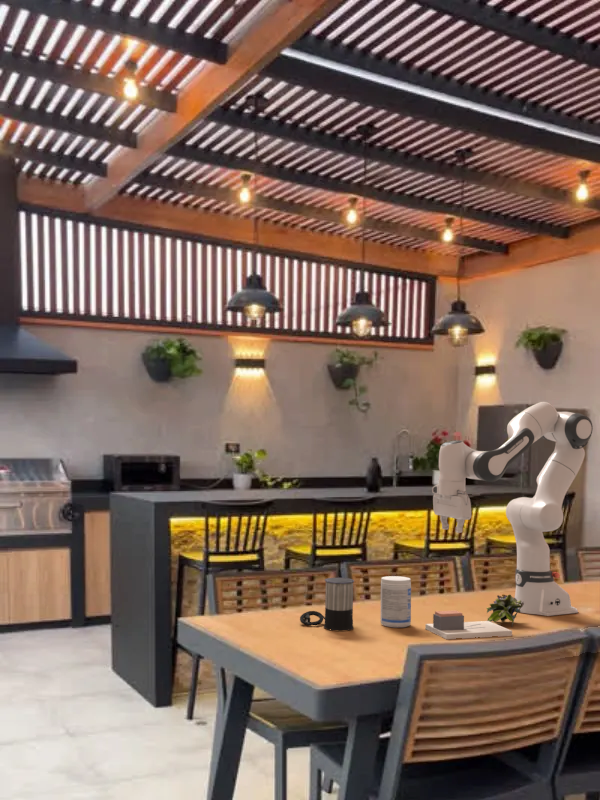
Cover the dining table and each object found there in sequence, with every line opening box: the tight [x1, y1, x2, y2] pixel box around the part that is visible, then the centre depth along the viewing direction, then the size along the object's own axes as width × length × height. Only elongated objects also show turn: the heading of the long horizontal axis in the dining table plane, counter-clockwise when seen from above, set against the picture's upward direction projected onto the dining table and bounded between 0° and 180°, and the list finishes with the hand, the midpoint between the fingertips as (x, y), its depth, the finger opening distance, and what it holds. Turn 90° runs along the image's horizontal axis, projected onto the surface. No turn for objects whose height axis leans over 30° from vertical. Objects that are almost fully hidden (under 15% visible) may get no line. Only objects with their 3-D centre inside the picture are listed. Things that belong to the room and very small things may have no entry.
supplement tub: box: [380, 575, 412, 629], centre depth 265 cm, size 10×10×15 cm
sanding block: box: [432, 610, 465, 631], centre depth 255 cm, size 8×4×5 cm, turn 107°
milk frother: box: [299, 577, 355, 631], centre depth 261 cm, size 14×16×15 cm
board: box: [424, 620, 513, 640], centre depth 257 cm, size 22×14×2 cm, turn 107°
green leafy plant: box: [486, 593, 524, 627], centre depth 270 cm, size 11×11×12 cm
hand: (452, 531), depth 279 cm, fingers open, 8 cm apart
